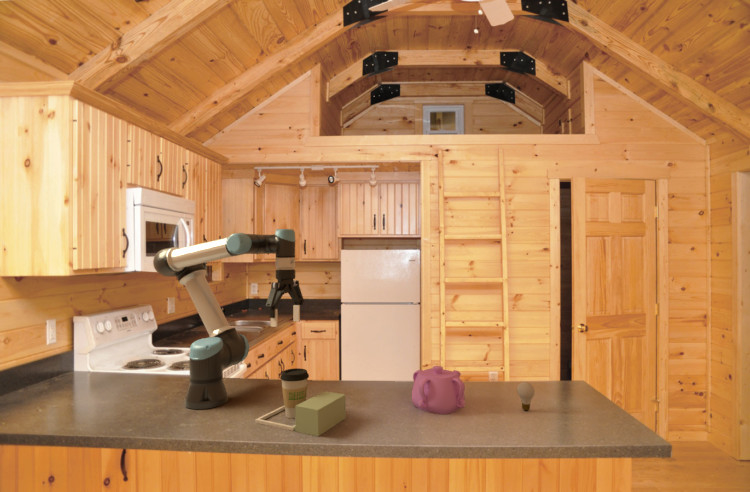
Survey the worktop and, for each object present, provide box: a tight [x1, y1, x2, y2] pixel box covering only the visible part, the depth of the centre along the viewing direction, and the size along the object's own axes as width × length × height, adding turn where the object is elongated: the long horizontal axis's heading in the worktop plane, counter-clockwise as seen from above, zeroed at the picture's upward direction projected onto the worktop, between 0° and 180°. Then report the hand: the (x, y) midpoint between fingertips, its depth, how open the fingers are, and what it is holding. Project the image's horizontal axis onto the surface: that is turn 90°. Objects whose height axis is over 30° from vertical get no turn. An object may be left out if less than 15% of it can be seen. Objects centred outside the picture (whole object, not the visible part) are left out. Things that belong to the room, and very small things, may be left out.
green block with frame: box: [254, 390, 347, 437], centre depth 149 cm, size 25×16×8 cm, turn 63°
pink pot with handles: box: [411, 365, 466, 415], centre depth 163 cm, size 19×21×14 cm
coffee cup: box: [279, 367, 310, 419], centre depth 154 cm, size 10×10×15 cm
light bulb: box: [516, 381, 536, 412], centre depth 156 cm, size 6×6×10 cm
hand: (285, 324), depth 171 cm, fingers open, 13 cm apart
